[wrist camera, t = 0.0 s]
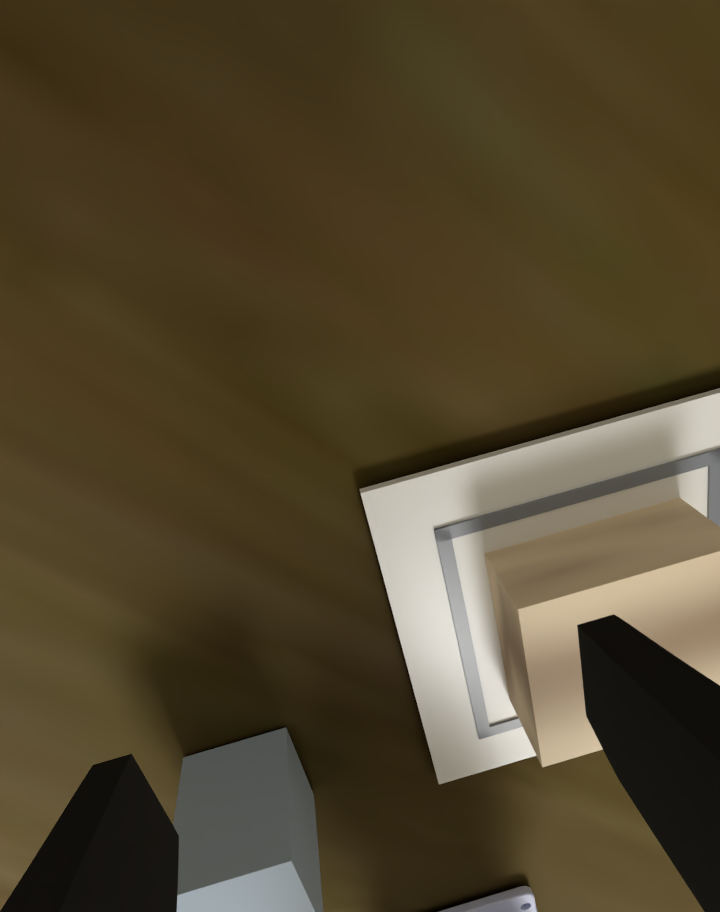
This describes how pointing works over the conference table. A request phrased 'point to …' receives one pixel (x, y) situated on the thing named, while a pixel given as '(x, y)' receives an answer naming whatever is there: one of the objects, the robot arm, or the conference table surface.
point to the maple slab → (601, 609)
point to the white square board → (506, 524)
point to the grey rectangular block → (247, 830)
